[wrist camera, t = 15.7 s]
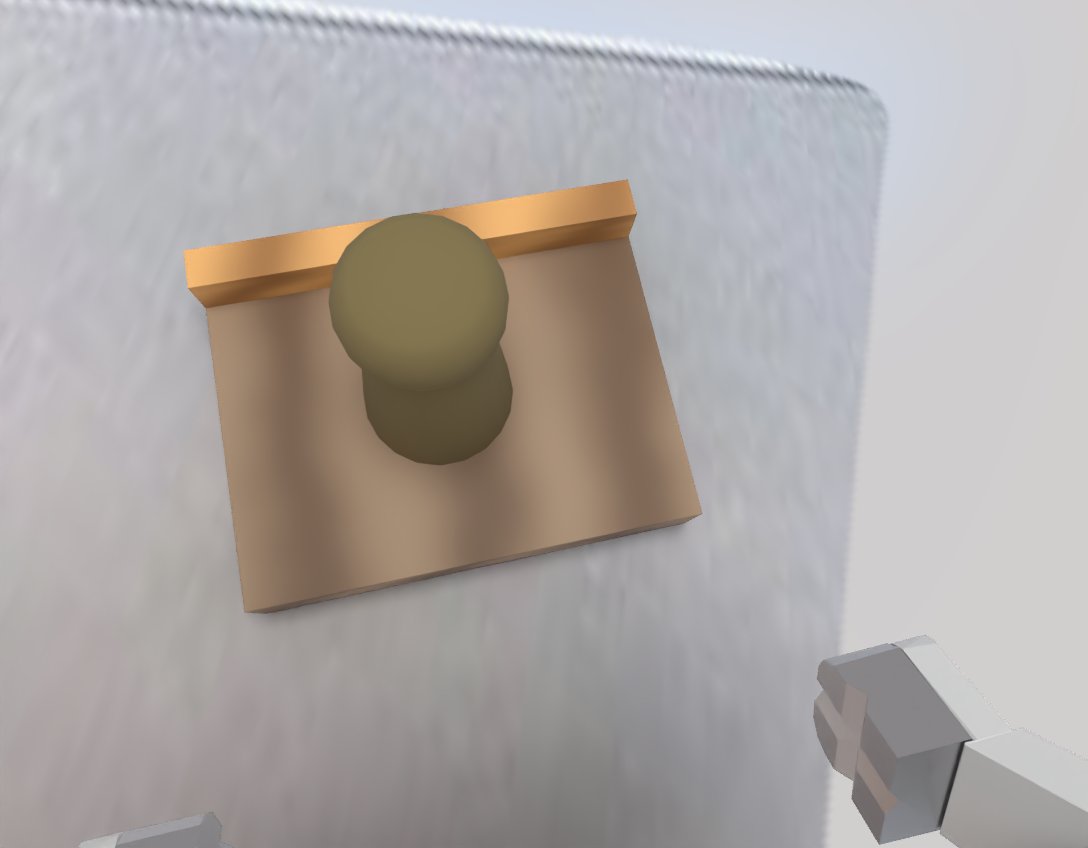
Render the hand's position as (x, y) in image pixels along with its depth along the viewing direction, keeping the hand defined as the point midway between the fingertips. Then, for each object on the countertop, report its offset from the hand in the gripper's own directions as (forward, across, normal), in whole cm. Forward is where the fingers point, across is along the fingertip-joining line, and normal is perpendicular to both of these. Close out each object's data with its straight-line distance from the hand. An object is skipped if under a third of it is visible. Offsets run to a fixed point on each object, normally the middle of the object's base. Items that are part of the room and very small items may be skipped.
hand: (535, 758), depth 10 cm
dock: (+24, 0, +8) cm, 25 cm away
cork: (+22, 0, +6) cm, 23 cm away
